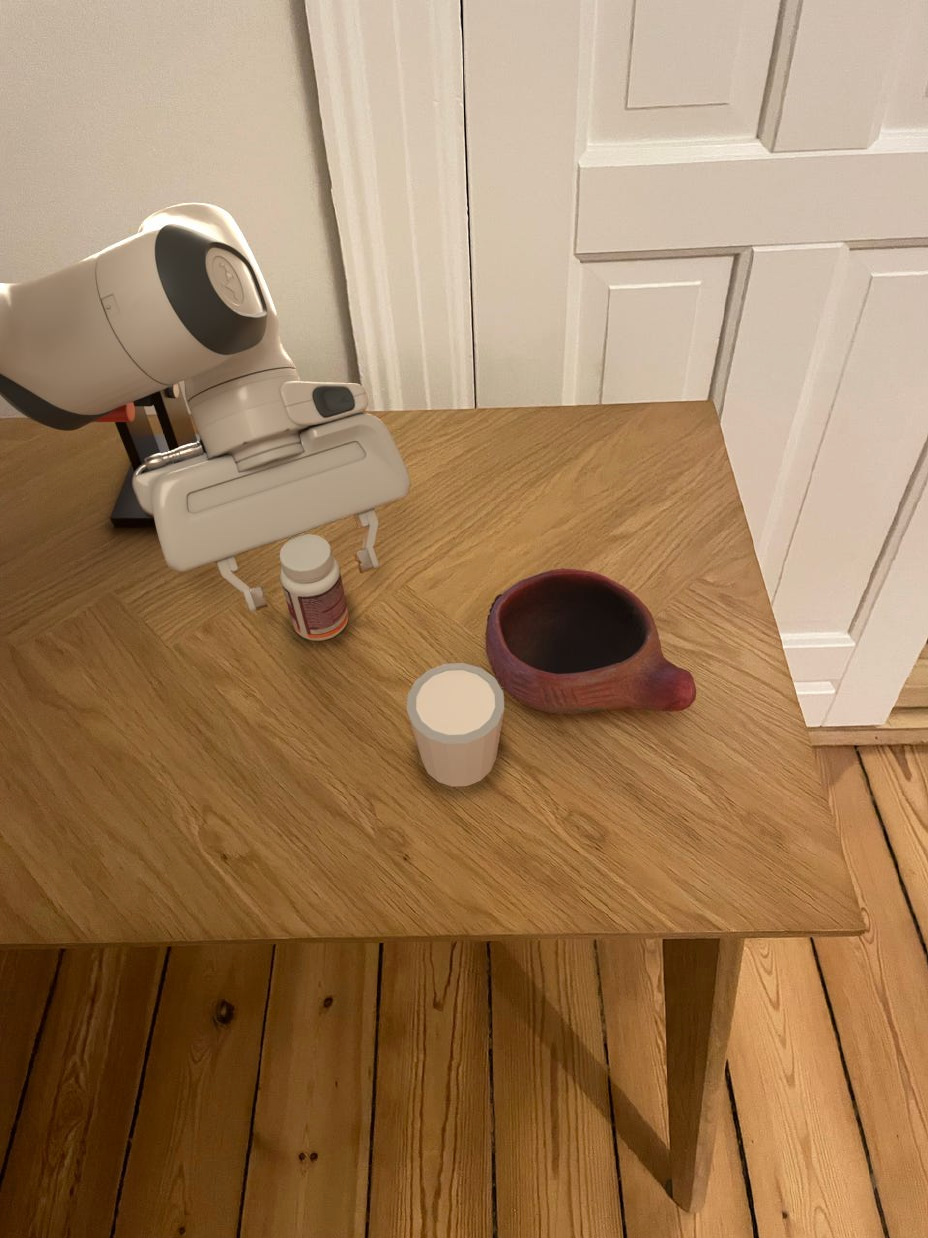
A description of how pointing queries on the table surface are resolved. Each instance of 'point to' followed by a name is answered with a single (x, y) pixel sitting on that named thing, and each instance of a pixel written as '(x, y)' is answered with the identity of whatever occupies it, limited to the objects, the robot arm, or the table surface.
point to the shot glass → (456, 722)
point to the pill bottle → (313, 587)
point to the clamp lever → (126, 411)
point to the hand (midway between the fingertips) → (315, 589)
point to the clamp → (150, 449)
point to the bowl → (581, 647)
